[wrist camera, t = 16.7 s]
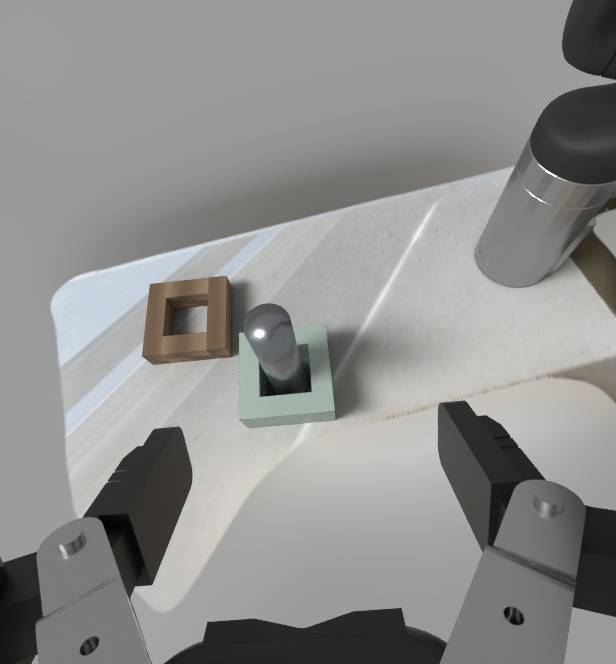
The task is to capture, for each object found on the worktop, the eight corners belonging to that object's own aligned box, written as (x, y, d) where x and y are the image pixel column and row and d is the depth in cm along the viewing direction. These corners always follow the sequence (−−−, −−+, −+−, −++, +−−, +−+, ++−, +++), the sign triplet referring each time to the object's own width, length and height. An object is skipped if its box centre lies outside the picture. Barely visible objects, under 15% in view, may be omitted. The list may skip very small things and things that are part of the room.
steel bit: (305, 365, 48) (289, 301, 34) (308, 397, 47) (292, 344, 32) (272, 368, 48) (242, 306, 34) (274, 401, 47) (243, 349, 32)
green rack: (327, 339, 49) (325, 323, 45) (335, 420, 45) (334, 410, 41) (247, 347, 50) (239, 332, 46) (248, 428, 46) (239, 419, 42)
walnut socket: (232, 287, 54) (226, 275, 51) (231, 356, 49) (225, 347, 47) (159, 295, 54) (150, 284, 51) (153, 364, 50) (142, 356, 47)
